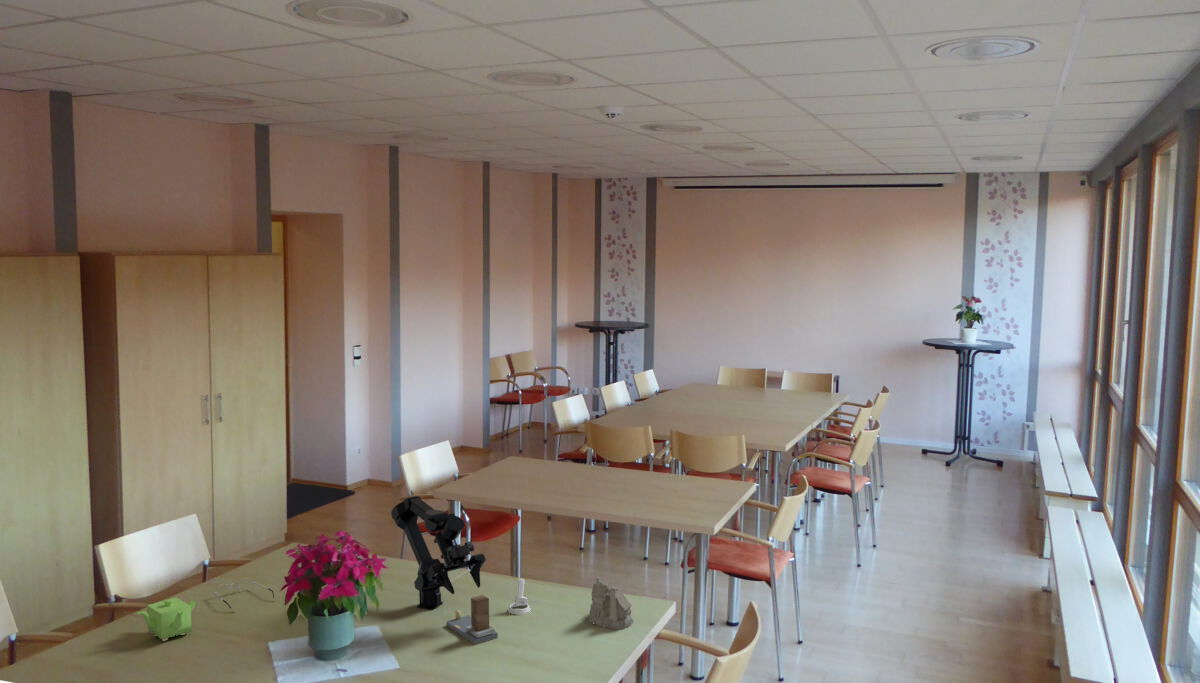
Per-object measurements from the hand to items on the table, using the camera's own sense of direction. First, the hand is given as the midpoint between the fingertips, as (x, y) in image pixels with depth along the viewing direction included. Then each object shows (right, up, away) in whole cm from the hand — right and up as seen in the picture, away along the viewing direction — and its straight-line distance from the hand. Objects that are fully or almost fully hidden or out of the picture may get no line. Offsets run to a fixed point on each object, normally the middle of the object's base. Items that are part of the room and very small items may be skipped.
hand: (466, 590), depth 288 cm
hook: (+15, -11, +16) cm, 25 cm away
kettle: (-93, -14, -2) cm, 94 cm away
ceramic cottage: (+46, -12, +9) cm, 49 cm away
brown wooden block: (+5, -11, -5) cm, 13 cm away
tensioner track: (+2, -13, -1) cm, 13 cm away
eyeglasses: (-81, -12, +27) cm, 86 cm away
